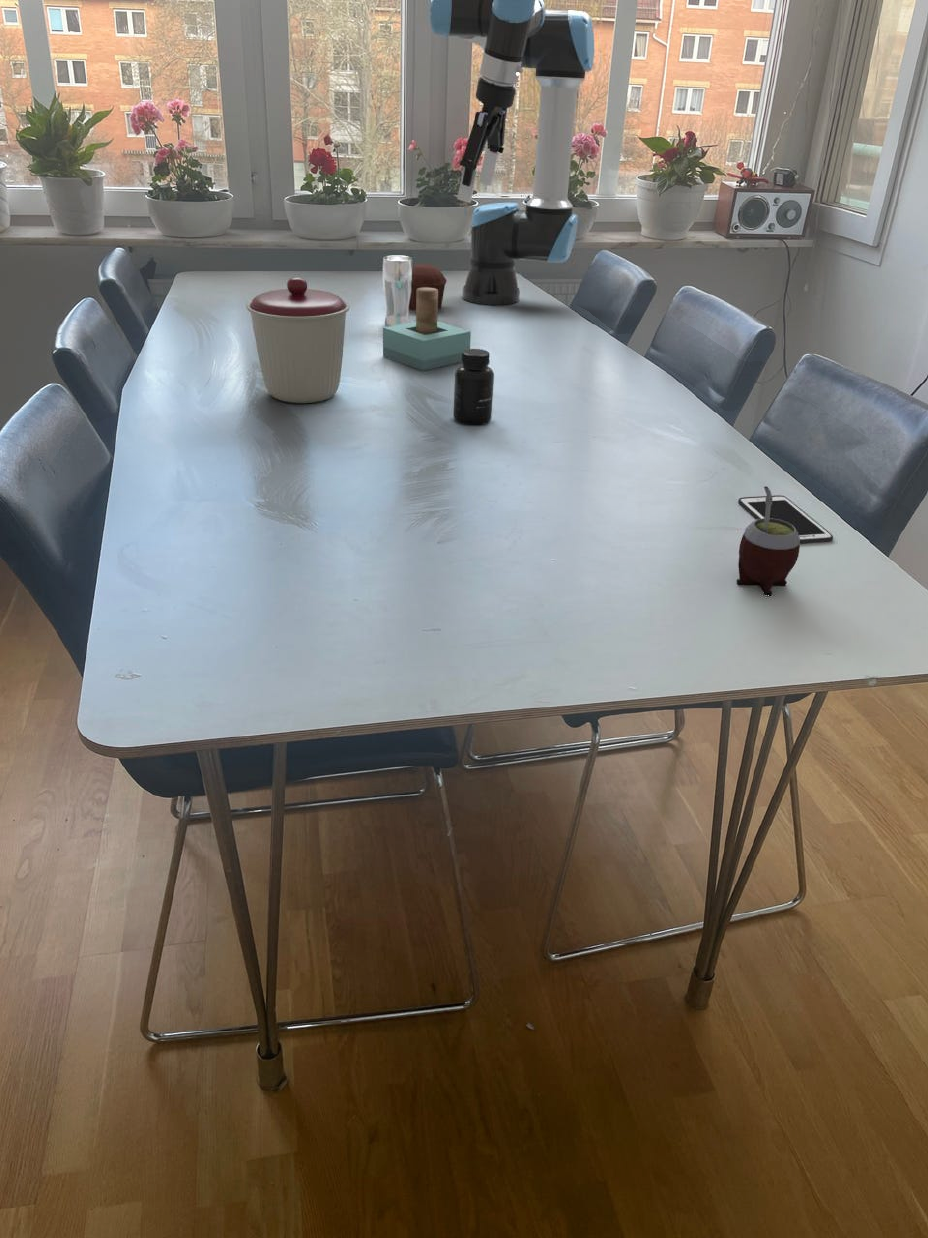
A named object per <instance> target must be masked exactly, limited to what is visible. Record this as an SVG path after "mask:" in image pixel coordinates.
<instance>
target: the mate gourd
mask: <svg viewBox="0 0 928 1238" xmlns="http://www.w3.org/2000/svg"><path fill="white" fill-rule="evenodd" d="M763 489H764V492H765V493H766V494H765V496H767V497H766V501H765V505H766V511H765V518H762V519H757V520H756V519H755V520H753V521H752V522H751V523H749V525H748V526H747V527H745V530H744V532H743V534H742V536H741V540H740V543H739V549H738V563H737V565H738V566H737V567H738V574H739V575H738V576H739V578H737V579H736V584H737V585H738V586H746V587H748V586H750V587H751V586H752V587H753V586H754V587H758V588H759V589H760V590H761V592H762V591H763V592H764V593H763V592H762V593H763V595H764V594H765V595H767V596H766V597H772V595H773V592H772V587H786V586H787V583H788V582H787V580H786V579H787V577H788V575H789V574H790V572H791V571H792V570H793V568H794V566H795V564H797V561H798V559H799V555H800V548H801V546H800V545H801V544H800V537H799V534H798V532H797V530H796V529H795V527H794V526H793V525H791V524H789V523H788V522H785V521H782V520H779V519H773V518H770V509H771V505H772V496H773V495H772V491H771V489H770V488H769V487H768V486H765V485H764V486H763ZM765 595H764V596H765ZM768 595H769V596H768Z"/></svg>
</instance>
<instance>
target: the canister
mask: <svg viewBox="0 0 928 1238" xmlns="http://www.w3.org/2000/svg"><path fill="white" fill-rule="evenodd" d="M245 307H246V310H247V312H248V313H250V316H251V321H252V322H251V323H252V328H253V333H254V338H255V343H256V349H257V355H258V361H259V365H260V369H261V370H260V371H261V375H262V380H263V383H264V387H265V388H266V390H267V392H268V393H269V395H271V396H272V397H273V398H275V399H276V400H279V401H282V402H284V403H285V402H287V403H292V404H293V403H294V404H312V403H319V402H323V401H325V400H329V399H330V398H332V397H334V395H335V394H336V393H337V391H338V389H339V388H340V383H341V377H342V376H341V375H342V369H343V367H342V366H343V357H344V345H345V344H344V343H345V332H346V331H345V330H346V316H347V312H348V311H349V310H350V304H349V302H348V301H346V300H345V299H343V298H342V297H341V296H339V295H337V294H334V293H333V292H328V291H324V290H319V289H312V288H311V289H310V288H308V282H307V280H306V279H305V278H303V277H300V276H299V277H298V276H294V277H290V278H289V279H288V281H287V282H286V288H285V289H275V290H269V291H266V292H263V293H260V294H258V295H256V296H254V298H253V299H251V300H249V301H248V302H246V304H245Z"/></svg>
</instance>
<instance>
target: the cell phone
mask: <svg viewBox="0 0 928 1238" xmlns="http://www.w3.org/2000/svg"><path fill="white" fill-rule="evenodd" d="M771 496H772V505H771V509H770V518H773V519H779V520H782V521H785V522H788V523H789V524H791V525H793V526H794V527H795V529H796V530H797V532H798V534H799V537H800V545H806V544H818V543H819V544H821V543H830V542H833V540H834V536H833V534H832V533H831V532H830V531H829V530H827V529H826V528H825V527H823V525H821V524H820V523H819V522H817V521H816V520H815V519H814V518H813V517H811V516H810V515H809V514H808V513H807V512H805V511H804V510H803V509H801V507H799V506H798V505H797V504H795V502H793V501H792V500H790V499H789V498H788V497H786V496H784V495H777V494H776V495H771ZM766 497H767V495H761V496H760V495H759V496H746V497H745V496H744V497H739V498H738V501H737V502H738V504H739V506H741V507H742V508H743V509H744V511H746V512H747V513H748V514H750V515H751V516H752V517H753V518H754V519H755V520H757V519H762V518H765V511H766V505H765V501H766Z"/></svg>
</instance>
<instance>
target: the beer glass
mask: <svg viewBox="0 0 928 1238" xmlns="http://www.w3.org/2000/svg"><path fill="white" fill-rule="evenodd" d="M382 259H383V261H382V286H383V287H382V288H383V293H384V294H383V295H384V301H385V307H386V309H385V311H386V312H385V319H384V325H385V326H386V325H387V326H393V325H398V324H404V323H409V322H411V318H410V309H409V303H410V297H411V291H412V284H413V269H412V267H413V258H412V257H410V256H408V255H407V256H406V255H395V254H394V255H385V256H383V258H382ZM387 326H386V327H387Z"/></svg>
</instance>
